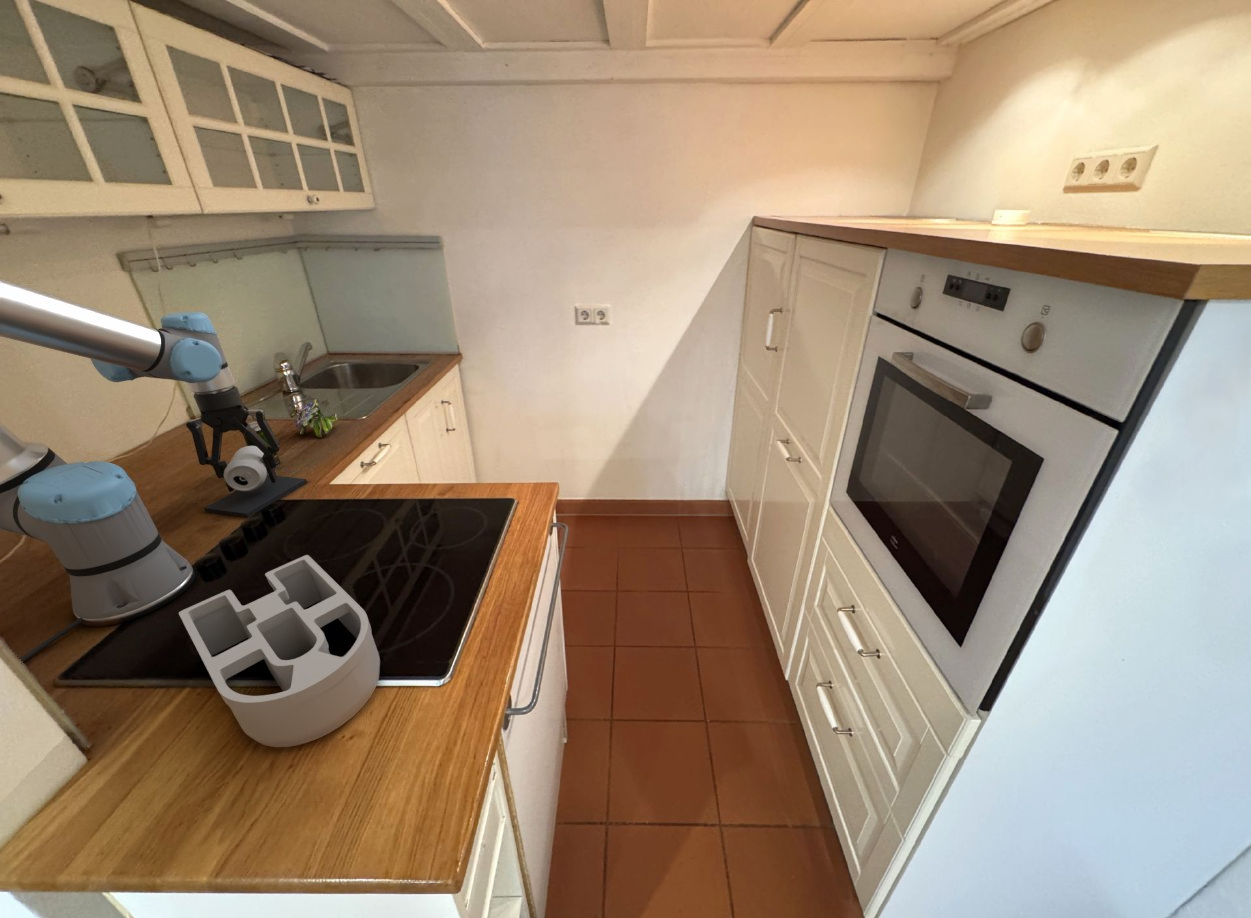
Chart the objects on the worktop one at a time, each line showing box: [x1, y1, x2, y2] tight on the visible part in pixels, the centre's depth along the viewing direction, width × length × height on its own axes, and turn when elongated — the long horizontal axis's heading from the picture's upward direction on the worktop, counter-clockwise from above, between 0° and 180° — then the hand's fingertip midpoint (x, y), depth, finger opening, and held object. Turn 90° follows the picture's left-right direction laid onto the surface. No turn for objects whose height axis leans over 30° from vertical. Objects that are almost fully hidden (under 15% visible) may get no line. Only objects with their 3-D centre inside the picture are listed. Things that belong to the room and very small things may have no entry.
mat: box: [203, 474, 308, 518], centre depth 116 cm, size 16×12×1 cm
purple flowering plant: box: [290, 398, 339, 438], centre depth 149 cm, size 11×11×12 cm
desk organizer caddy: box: [178, 554, 381, 748], centre depth 68 cm, size 17×28×9 cm, turn 50°
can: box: [223, 445, 268, 491], centre depth 114 cm, size 8×8×12 cm
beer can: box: [242, 420, 281, 470], centre depth 127 cm, size 5×5×12 cm
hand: (253, 484), depth 115 cm, fingers closed on can, 7 cm apart
